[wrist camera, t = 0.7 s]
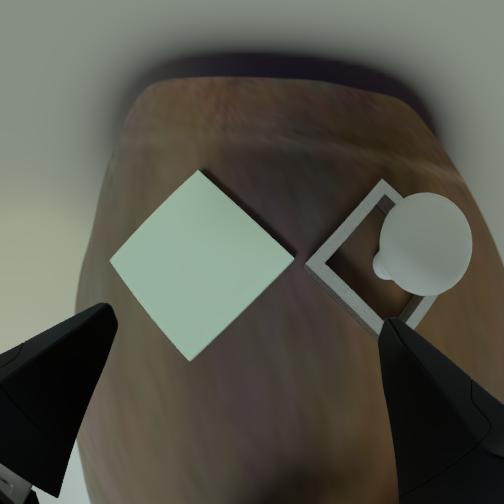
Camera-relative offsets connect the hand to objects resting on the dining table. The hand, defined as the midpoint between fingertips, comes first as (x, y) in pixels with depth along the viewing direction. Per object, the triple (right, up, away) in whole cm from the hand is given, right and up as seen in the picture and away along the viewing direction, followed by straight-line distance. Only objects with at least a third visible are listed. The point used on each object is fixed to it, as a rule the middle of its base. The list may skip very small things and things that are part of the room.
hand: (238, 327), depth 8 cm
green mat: (-5, +1, +15) cm, 16 cm away
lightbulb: (+12, +1, +14) cm, 18 cm away
